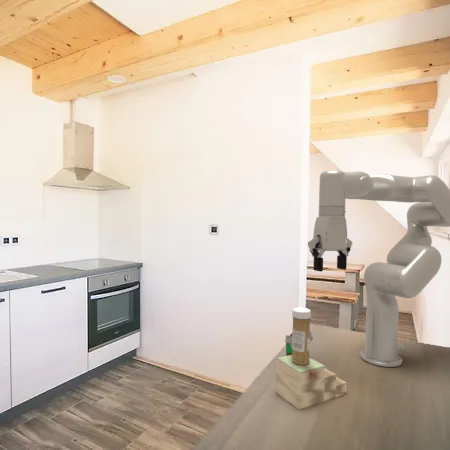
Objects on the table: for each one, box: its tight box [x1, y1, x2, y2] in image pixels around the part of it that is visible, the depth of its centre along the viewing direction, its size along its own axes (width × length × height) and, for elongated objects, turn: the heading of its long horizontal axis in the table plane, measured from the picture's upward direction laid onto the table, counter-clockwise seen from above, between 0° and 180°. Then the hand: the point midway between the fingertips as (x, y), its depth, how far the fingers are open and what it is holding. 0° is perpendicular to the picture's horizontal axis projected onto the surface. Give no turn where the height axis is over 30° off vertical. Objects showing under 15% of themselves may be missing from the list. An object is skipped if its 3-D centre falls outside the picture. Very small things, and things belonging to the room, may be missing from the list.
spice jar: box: [291, 307, 312, 365], centre depth 86 cm, size 5×5×13 cm
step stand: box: [275, 355, 348, 410], centre depth 88 cm, size 16×10×9 cm, turn 119°
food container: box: [284, 330, 313, 356], centre depth 106 cm, size 12×6×10 cm, turn 148°
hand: (330, 269), depth 101 cm, fingers open, 9 cm apart
